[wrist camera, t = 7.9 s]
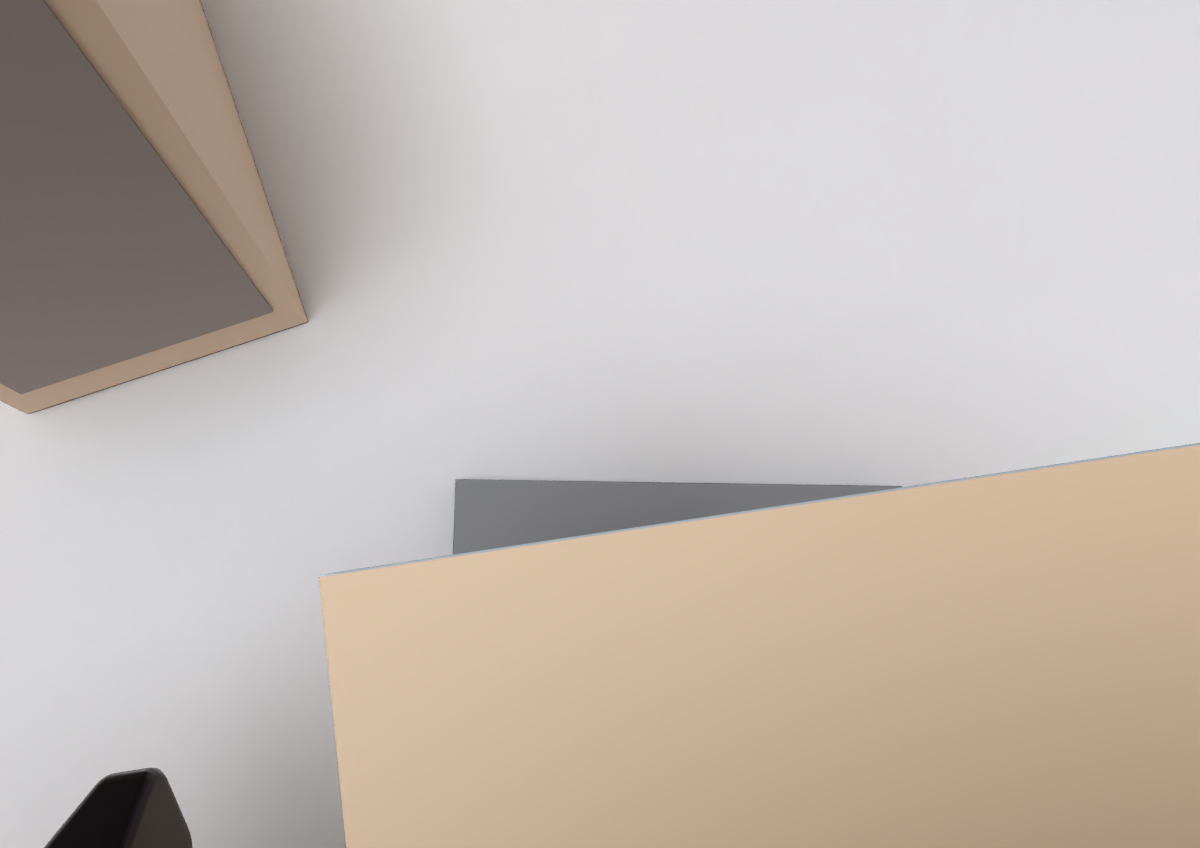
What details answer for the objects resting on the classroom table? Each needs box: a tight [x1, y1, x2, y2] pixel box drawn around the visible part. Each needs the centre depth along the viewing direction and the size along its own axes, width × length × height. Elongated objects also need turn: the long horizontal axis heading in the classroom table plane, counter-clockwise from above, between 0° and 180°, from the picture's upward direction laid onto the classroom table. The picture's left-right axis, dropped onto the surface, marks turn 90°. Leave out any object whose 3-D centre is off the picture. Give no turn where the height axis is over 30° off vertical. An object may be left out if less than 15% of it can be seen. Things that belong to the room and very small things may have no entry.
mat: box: [453, 479, 902, 555], centre depth 16 cm, size 9×7×1 cm
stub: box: [319, 443, 1200, 848], centre depth 10 cm, size 4×5×12 cm
